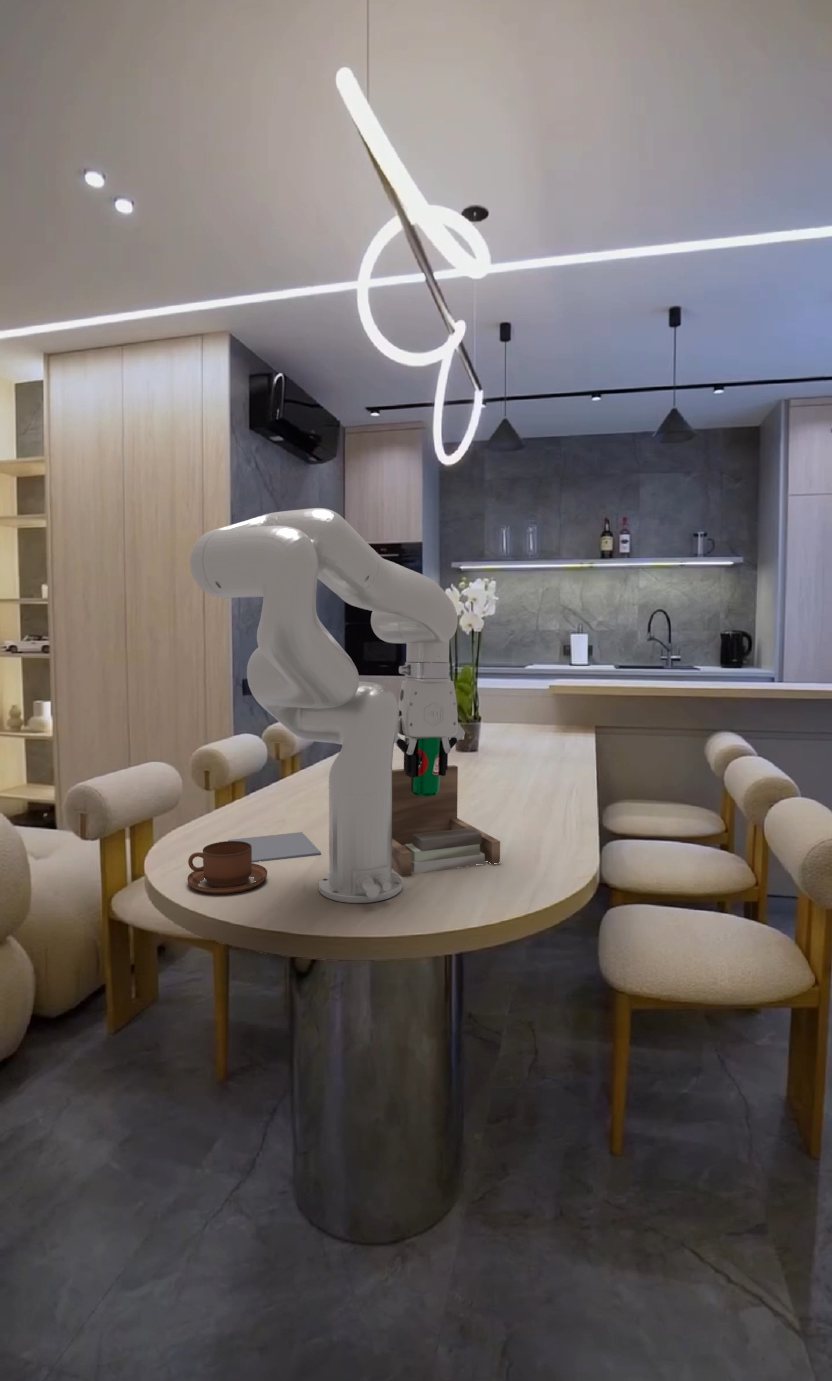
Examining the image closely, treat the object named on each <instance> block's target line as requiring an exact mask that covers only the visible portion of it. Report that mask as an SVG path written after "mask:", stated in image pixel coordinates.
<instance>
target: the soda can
mask: <svg viewBox="0 0 832 1381" xmlns="http://www.w3.org/2000/svg"><path fill="white" fill-rule="evenodd" d="M440 743H441V738H417V742H416V745H415V748H414V755H416V777H415V778H411V791H412V793H413V794H415V795H418V796H434V795H437V794H438V792H439V790H440Z"/></svg>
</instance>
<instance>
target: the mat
mask: <svg viewBox="0 0 832 1381" xmlns="http://www.w3.org/2000/svg"><path fill="white" fill-rule="evenodd" d="M227 841H242V842H247V843H249V844H251V846H252V863H260V862H259V861H261V862H269V861H270V862H271V861H277V860H288V859H296V858H297V859H298V858H307V857H315V856H321V855H322V852H321V850H319V849H318V847H316V846H315V844H314V842H312V841H311V840H310V839H309V838H308V837H307V835H305V834H304V832H302V831H297V832H289V833H288V832H287V833H281V834H279V833H278V834H272V835H261V836H253V837H242V838H241V837H240V838H234V839H233V838H232V839H228V840H227Z"/></svg>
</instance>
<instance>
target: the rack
mask: <svg viewBox="0 0 832 1381" xmlns="http://www.w3.org/2000/svg"><path fill="white" fill-rule="evenodd" d="M458 769H459V766H457V765H456V764H452V765H450V764H449V765H448V768H447V770H446V775H445V776H441V775H440V790H439V792H438V794H437V795H434V796H418V795H415V794H413V793H412V791H411V777H409V776H407V775H406V772H404V768H399V769H392V871H394V872H396V873H397V874H398V876H400V877H403V878H404V877H411V876H412V873H413V874H420V873H429V872H435V871H436V872H437V871H444V870H445V871H446V870H453V868H454V869H458V868H457V867H462V868H467V867H466V866H470V867H472V866H471V865H476V864H486V863H485V861H488V862H490V863H491V864H494V863H499V862H500V863H501V840H499V839H496V838H495V837H494V836H491V835H489V834H488V833H486V832H484V831H482V830H480V829H478V828H476V827H474V826H473V825H471V824H469V823H468V822H465V821H463V820H461V819H460V818H459V817H458V788H459V786H458V783H459V782H458V781H459V780H458V779H459V778H458V776H459V770H458Z"/></svg>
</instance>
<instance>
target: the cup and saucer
mask: <svg viewBox="0 0 832 1381" xmlns="http://www.w3.org/2000/svg"><path fill="white" fill-rule="evenodd" d="M195 858H201V859H202V866H199V867H198V866H196V865H194V863H193V861H194V859H195ZM187 861H188V867H189V868H190V869H191V870H192V872H191V873H189V874H188V876H187V878H186V879H187V882H188V884H189V886H190V887H191V888H193V889H194V890H196V891H199V892H201V893H205V894H213V895H223V894H224V895H226V894H234V893H240V892H245V891H248V890H251V889H253V888H256V887H257V886H259V885H260V884H262V883H263V881H264V880H266V878H267V877H268V870H267V868H266V867H265V866H262V865H261V864H257V863H254V862H252V846H251V844H249V843H247V842H242V841H228V840H227V841H216V842H214V843H211V844H207V845H206V846H204V847H203V848H202V852H198V851H197V852H194V853H191V855H190V856H189V857H188V860H187ZM251 877H254V879H253V882H251V883H250V882H249V883H248V884H244V883H246V882H247V881H248V880H249V878H251ZM204 878H205V880H206V883H208V884H209V885H210V886H212V887H205V886H199V885H200V883H201V882H202V881H205V880H204ZM200 881H201V882H200ZM254 881H256V882H254ZM198 884H199V885H198Z"/></svg>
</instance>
